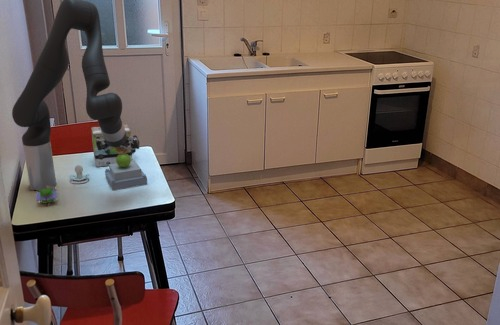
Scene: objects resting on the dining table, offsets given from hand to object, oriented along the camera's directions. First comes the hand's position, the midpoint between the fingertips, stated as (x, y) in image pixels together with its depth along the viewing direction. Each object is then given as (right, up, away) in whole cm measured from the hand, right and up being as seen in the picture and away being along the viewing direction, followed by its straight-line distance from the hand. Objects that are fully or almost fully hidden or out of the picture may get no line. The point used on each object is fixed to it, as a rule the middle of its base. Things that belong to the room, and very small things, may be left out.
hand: (121, 151), depth 177 cm
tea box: (-11, -4, +30) cm, 32 cm away
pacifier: (-19, -11, +11) cm, 24 cm away
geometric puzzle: (-23, -18, -8) cm, 31 cm away
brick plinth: (-1, -11, +11) cm, 16 cm away
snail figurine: (-1, -6, +9) cm, 10 cm away
